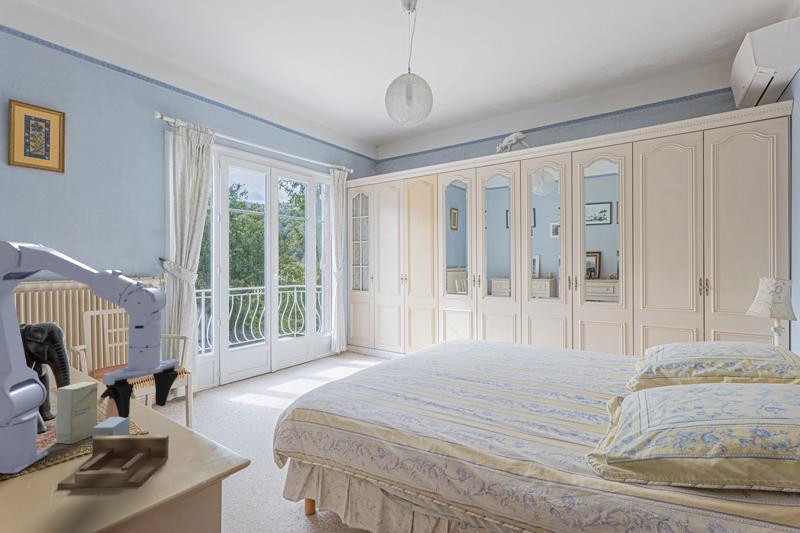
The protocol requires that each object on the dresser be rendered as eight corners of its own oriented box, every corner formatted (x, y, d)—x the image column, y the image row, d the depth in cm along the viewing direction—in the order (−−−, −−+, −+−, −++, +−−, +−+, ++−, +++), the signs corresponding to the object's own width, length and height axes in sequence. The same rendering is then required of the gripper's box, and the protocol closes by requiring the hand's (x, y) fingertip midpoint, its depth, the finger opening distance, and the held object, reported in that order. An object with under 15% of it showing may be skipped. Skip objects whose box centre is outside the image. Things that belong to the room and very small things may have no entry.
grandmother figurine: (98, 428, 97) (99, 376, 97) (97, 423, 100) (98, 372, 100) (136, 420, 103) (137, 371, 103) (133, 416, 106) (134, 368, 105)
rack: (57, 488, 72) (58, 460, 72) (96, 459, 82) (97, 435, 82) (140, 486, 73) (140, 459, 73) (168, 458, 83) (168, 434, 83)
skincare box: (71, 445, 88) (72, 390, 88) (54, 443, 89) (55, 388, 89) (97, 433, 95) (98, 382, 95) (82, 431, 96) (83, 380, 95)
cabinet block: (89, 458, 83) (89, 429, 83) (110, 443, 90) (110, 416, 90) (109, 457, 83) (110, 428, 83) (129, 443, 90) (129, 416, 90)
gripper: (119, 354, 75) (117, 426, 75) (189, 341, 89) (187, 403, 89) (97, 349, 78) (95, 419, 78) (168, 338, 92) (166, 398, 92)
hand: (142, 410), depth 84 cm, fingers open, 7 cm apart
